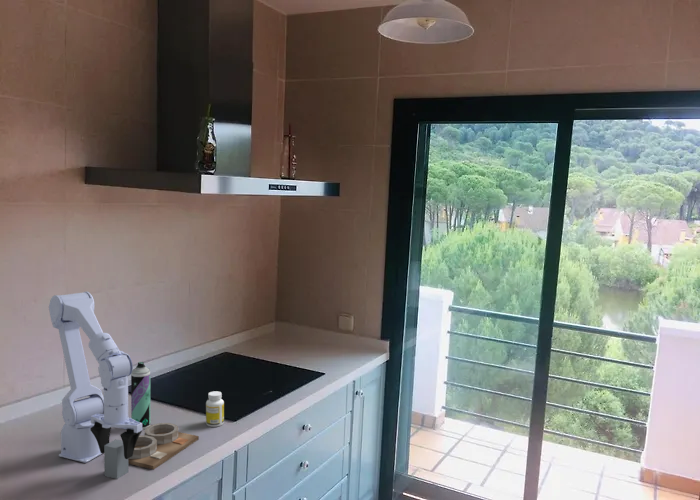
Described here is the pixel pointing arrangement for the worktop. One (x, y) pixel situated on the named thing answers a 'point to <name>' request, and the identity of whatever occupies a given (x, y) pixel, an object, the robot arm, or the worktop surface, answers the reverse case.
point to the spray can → (140, 395)
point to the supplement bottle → (214, 409)
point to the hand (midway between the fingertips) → (116, 454)
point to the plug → (115, 459)
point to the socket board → (159, 445)
